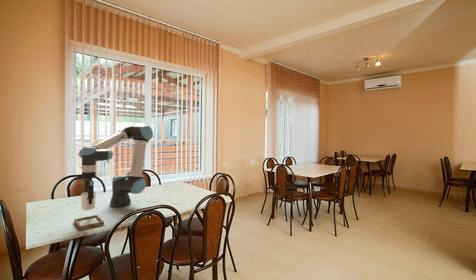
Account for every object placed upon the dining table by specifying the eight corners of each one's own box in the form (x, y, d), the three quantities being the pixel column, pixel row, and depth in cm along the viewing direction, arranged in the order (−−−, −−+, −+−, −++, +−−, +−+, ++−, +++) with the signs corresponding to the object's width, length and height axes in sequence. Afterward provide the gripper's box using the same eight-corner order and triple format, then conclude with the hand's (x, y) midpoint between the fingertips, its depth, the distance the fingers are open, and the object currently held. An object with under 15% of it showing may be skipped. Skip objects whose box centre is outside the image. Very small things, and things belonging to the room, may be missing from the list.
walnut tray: (97, 217, 161) (97, 214, 161) (103, 225, 150) (103, 221, 150) (74, 222, 152) (74, 219, 152) (79, 230, 141) (79, 226, 141)
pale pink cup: (77, 209, 148) (78, 193, 148) (89, 206, 155) (89, 190, 155) (86, 211, 145) (87, 195, 145) (98, 207, 152) (98, 192, 152)
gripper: (78, 169, 154) (77, 204, 155) (85, 174, 140) (85, 213, 140) (91, 169, 160) (91, 202, 160) (100, 173, 145) (99, 210, 145)
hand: (88, 207), depth 150 cm, fingers closed on pale pink cup, 8 cm apart
